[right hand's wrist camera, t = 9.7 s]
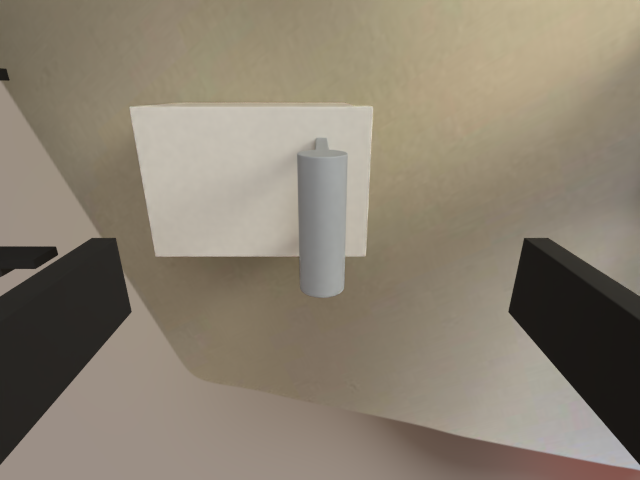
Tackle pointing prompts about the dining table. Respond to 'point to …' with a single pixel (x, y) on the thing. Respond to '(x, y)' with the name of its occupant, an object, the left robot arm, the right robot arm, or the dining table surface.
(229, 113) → the grey and white piece
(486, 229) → the dining table surface
